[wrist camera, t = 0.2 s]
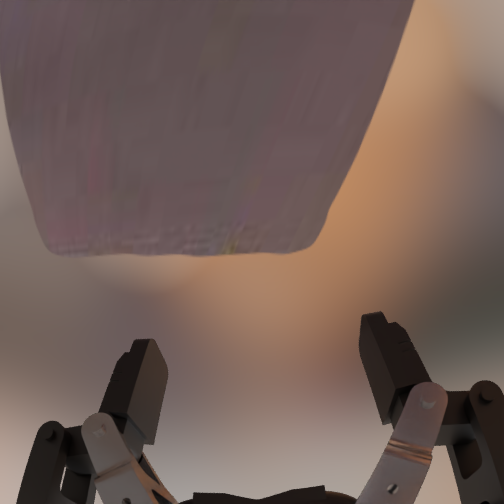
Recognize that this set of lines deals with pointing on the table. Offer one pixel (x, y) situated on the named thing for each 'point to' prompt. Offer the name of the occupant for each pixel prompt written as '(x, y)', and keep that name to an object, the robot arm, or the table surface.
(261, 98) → the table surface
